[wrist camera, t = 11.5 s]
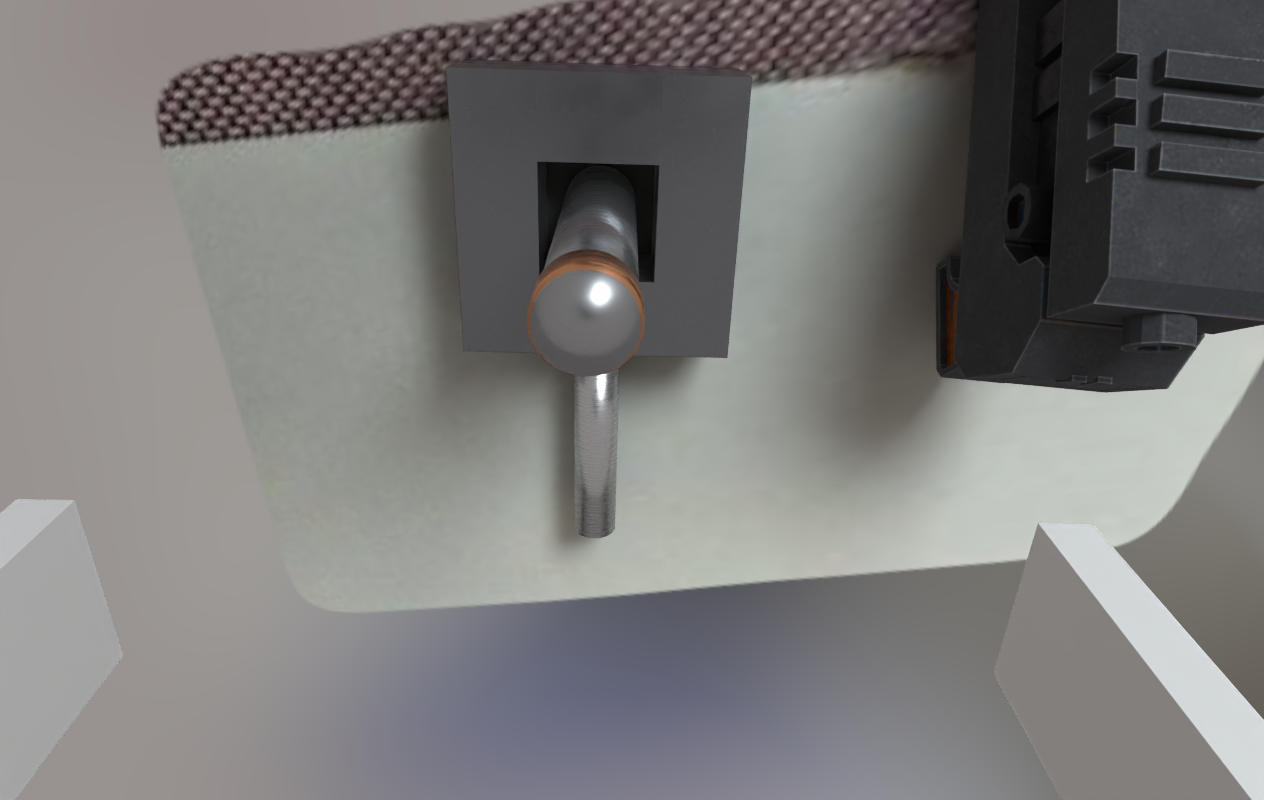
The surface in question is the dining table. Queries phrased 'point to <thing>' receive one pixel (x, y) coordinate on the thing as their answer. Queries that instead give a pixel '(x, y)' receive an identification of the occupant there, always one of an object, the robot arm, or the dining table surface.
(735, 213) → the grey holed block
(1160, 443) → the dining table surface
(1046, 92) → the toy gun
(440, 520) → the dining table surface
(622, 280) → the grey metal rod
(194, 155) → the dining table surface
